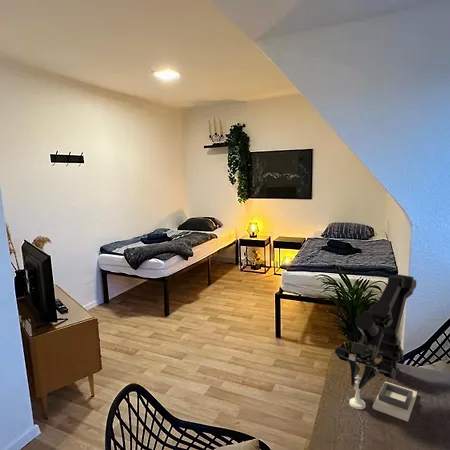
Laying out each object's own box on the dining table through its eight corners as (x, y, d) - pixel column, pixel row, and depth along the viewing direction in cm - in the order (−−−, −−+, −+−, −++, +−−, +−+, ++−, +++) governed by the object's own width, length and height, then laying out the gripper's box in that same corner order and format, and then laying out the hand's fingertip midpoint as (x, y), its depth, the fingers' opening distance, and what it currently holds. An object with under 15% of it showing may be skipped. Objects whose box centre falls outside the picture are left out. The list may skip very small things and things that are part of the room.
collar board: (384, 384, 117) (385, 376, 116) (416, 394, 111) (417, 386, 110) (372, 408, 104) (372, 399, 104) (407, 421, 98) (408, 412, 98)
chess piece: (367, 410, 104) (367, 380, 103) (350, 408, 105) (351, 379, 104) (363, 400, 108) (364, 372, 107) (348, 398, 109) (348, 370, 108)
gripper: (336, 324, 113) (320, 366, 107) (394, 341, 100) (379, 391, 94) (346, 338, 120) (332, 379, 113) (402, 355, 106) (388, 403, 100)
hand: (355, 387), depth 105 cm, fingers closed on chess piece
